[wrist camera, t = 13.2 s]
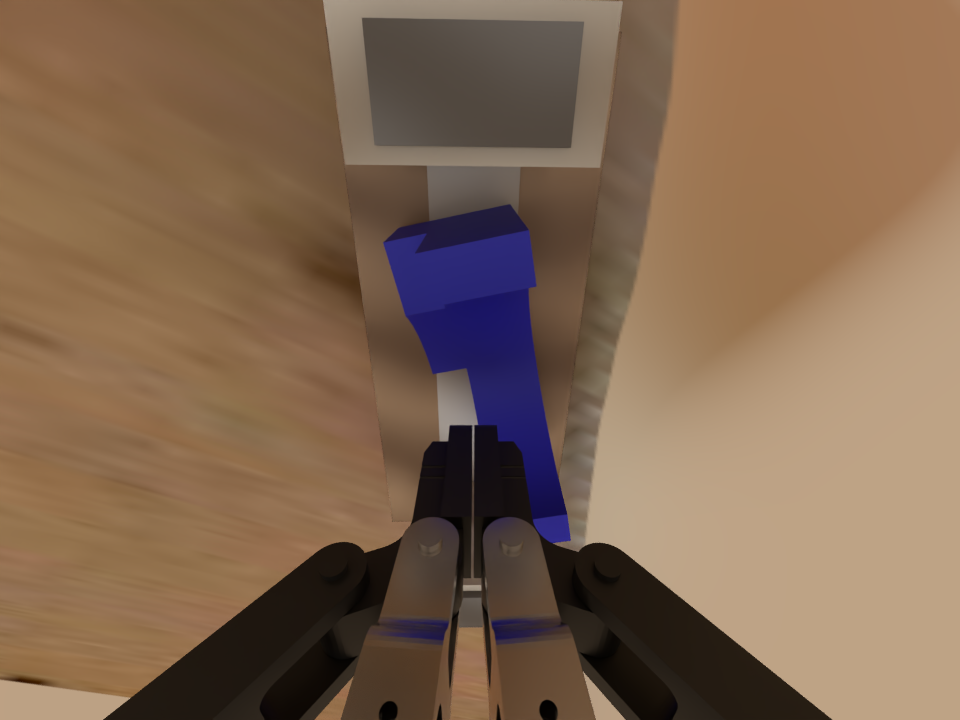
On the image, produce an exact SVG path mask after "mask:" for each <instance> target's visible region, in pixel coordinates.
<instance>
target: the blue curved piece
mask: <svg viewBox="0 0 960 720" xmlns="http://www.w3.org/2000/svg"><path fill="white" fill-rule="evenodd" d="M383 244H384V247H385V251H386V254H387V257H388V260H389V264H390V267H391V270H392V273H393V277H394V280H395V283H396V286H397V290H398V293H399V296H400V299H401V303H402V306H403V309H404V313H405V316H406V317H407V318H408V320H409V321H410V322H411V324H412V326H413V327H414V329H415V331H416V333H417V334H418V336H419V339H420V341H421V343H422V345H423V348H424V350H425V353H426V355H427V358H428V361H429V364H430V367H431V370H432V374H437V373H443V372H448V371H454V370H459V369H465V368H466V369H467V373H468V377H469V381H470V386H471V391H472V395H473V400H474V406H475V411H476V416H477V422H478V425H497V432H498V441H514V443H515V444H516V445H517V447H518V448H519V449H520V451H521V452H522V456H523V462H524V468H525V475H526V481H527V487H528V494H529V500H530V506H531V513H532V519H533V523H534V525H535V527H536V529H537V531H538V532H539V533H540V534H541V535H542V536H543V537H544V538H545V539H546V540H548V541H549V542H551V543H556V542H563V541H570V540H571V539H570V531H569V524H568V516H567V511H566V508H565V504H564V499H563V495H562V491H561V487H560V483H559V478H558V474H557V469H556V465H555V460H554V456H553V451H552V446H551V441H550V436H549V431H548V426H547V421H546V416H545V411H544V405H543V400H542V394H541V388H540V382H539V376H538V370H537V364H536V357H535V351H534V343H533V336H532V328H531V319H530V308H529V288H532V287H537V285H536V278H535V270H534V263H533V256H532V248H531V241H530V233H529V229H528V228H527V227H526V225H525V224H524V223H523V221H522V220H521V218H520V217H519V216H518V214H517V213H516V212H515V210H514V209H513V207H512V206H511V205H510V204H508V205H503V206H499V207H494V208H489V209H484V210H480V211H475V212H470V213H466V214H461V215H456V216H451V217H447V218H442V219H437V220H433V221H428V222H423V223H418V224H414V225H409V226H404V227H400V228H398V229H397V230H396V231H395V232H394V233H393V234H392V235H390V236H389V237H388V238H387V239H386V240H385V241H384V242H383Z"/></svg>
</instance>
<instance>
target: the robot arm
mask: <svg viewBox="0 0 960 720" xmlns="http://www.w3.org/2000/svg"><path fill="white" fill-rule="evenodd" d="M471 539H472V425H450V427H449V437H448V441H433V442H432V443H431V444H430V445H429V447H428V448H427V449H426V451H425V452H424V456H423V461H422V468H421V473H420V479H419V484H418V490H417V496H416V502H415V507H414V513H413V519H412V523H411V525H410V526H409V527H408V529H407V530H406V531H405V533H404V534H403V536H402V537H401V538H400V539H399V540H397V541H396V542H394V543H392V544H391V545H388V546H386V547H383V548H380V549H376V550H373V551H370V552H366V553H364V551H363V550H362V549H361V548H360V547H359V546H357V545H355V544H353V543H349V542H339V543H334V544H331V545H328V546H326V547H324V548H322V549H321V550H319V551H318V552H316V553H315V554H314V555H313V556H311V557H310V558H309V559H307V560H306V561H305V562H304V563H302V564H301V565H300V566H298V567H297V568H296V569H295V570H293V571H292V572H291V573H290V574H288V575H287V576H286V577H284V578H283V579H282V580H281V581H279V582H278V583H277V584H276V585H274V586H273V587H272V588H270V589H269V590H268V591H267V592H265V593H264V594H263V595H262V596H260V597H259V598H258V599H256V600H255V601H254V602H253V603H251V604H250V605H249V606H247V607H246V608H245V609H244V610H242V611H241V612H240V613H239V614H237V615H236V616H235V617H233V618H232V619H231V620H230V621H228V622H227V623H226V624H225V625H223V626H222V627H221V628H219V629H218V630H217V631H216V632H214V633H213V634H212V635H211V636H209V637H208V638H207V639H205V640H204V641H203V642H202V643H200V644H199V645H198V646H196V647H195V648H194V649H193V650H191V651H190V652H189V653H188V654H186V655H185V656H184V657H182V658H181V659H180V660H179V661H177V662H176V663H175V664H174V665H172V666H171V667H170V668H168V669H167V670H166V671H165V672H163V673H162V674H161V675H160V676H158V677H157V678H156V679H154V680H153V681H152V682H151V683H149V684H148V685H147V686H145V687H144V688H143V689H142V690H140V691H139V692H138V693H137V694H135V695H134V696H133V697H131V698H130V699H129V700H128V701H127V702H125V703H124V704H123V705H121V706H120V707H119V708H117V709H116V710H115V711H114V712H112V713H111V714H110V715H109V716H107V717H106V718H105V719H103V720H314V719H315V718H316V717H317V716H318V715H319V714H320V713H321V712H322V711H323V709H324V708H325V707H326V706H327V705H328V704H329V703H330V702H331V700H332V699H333V698H334V697H335V696H336V695H337V694H338V693H339V692H340V690H341V689H342V688H343V687H344V686H345V685H346V684H347V683H348V682H349V680H350V679H351V678H352V677H353V676H354V677H353V680H352V683H351V687H350V690H349V694H348V697H347V700H346V704H345V707H344V710H343V714H342V717H341V720H450V716H451V698H452V687H453V677H454V668H455V658H456V649H457V640H458V630H459V621H460V610H461V604H462V601H463V578H471ZM474 578H481V614H482V626H483V638H484V650H485V661H486V673H487V685H488V698H489V720H596V718H595V715H594V711H593V707H592V704H591V700H590V697H589V693H588V689H587V685H586V682H585V678H584V674H583V671H584V673H585V674H586V675H587V676H588V677H589V678H590V680H591V681H592V682H593V683H594V684H595V685H596V686H597V687H598V689H599V690H600V691H601V692H602V693H603V694H604V696H605V697H606V698H607V699H608V700H609V701H610V702H611V704H612V705H613V706H614V707H615V708H616V709H617V710H618V711H619V713H620V714H621V715H622V716H623V717H624V718H625V719H626V720H832V719H831V718H829V717H828V716H827V715H826V714H824V713H823V712H822V711H821V710H819V709H818V708H817V707H816V706H814V705H813V704H812V703H811V702H809V701H808V700H807V699H806V698H805V697H803V696H802V695H801V694H799V693H798V692H797V691H796V690H795V689H793V688H792V687H791V686H790V685H788V684H787V683H786V682H784V681H783V680H782V679H781V678H780V677H778V676H777V675H776V674H775V673H773V672H772V671H771V670H770V669H768V668H767V667H766V666H765V665H763V664H762V663H761V662H760V661H758V660H757V659H756V658H755V657H754V656H752V655H751V654H750V653H748V652H747V651H746V650H745V649H744V648H742V647H741V646H740V645H738V644H737V643H736V642H735V641H734V640H732V639H731V638H730V637H729V636H727V635H726V634H725V633H724V632H722V631H721V630H720V629H718V628H717V627H716V626H715V625H714V624H712V623H711V622H710V621H709V620H707V619H706V618H705V617H704V616H703V615H701V614H700V613H699V612H697V611H696V610H695V609H694V608H693V607H691V606H690V605H689V604H688V603H686V602H685V601H684V600H683V599H681V598H680V597H678V595H676V594H675V593H674V592H673V591H671V590H670V589H669V588H668V587H666V586H665V585H664V584H663V583H661V582H660V581H659V580H658V579H657V578H655V577H654V576H653V575H652V574H650V573H649V572H648V571H647V570H645V569H644V568H643V567H641V566H640V565H639V564H638V563H637V562H635V561H634V560H633V559H632V558H630V557H629V556H628V555H627V554H625V553H624V552H623V551H621V550H620V549H618V548H616V547H614V546H612V545H609V544H605V543H592V544H589V545H586V546H584V547H583V548H582V549H581V550H580V551H579V552H576V551H573V550H569V549H566V548H563V547H560V546H557V545H555V544H553V543H551V542H549V541H548V540H546V539H545V538H544V537H543V536H542V535H541V534H540V533H539V532H538V531H537V529H536V527H535V525H534V523H533V519H532V513H531V506H530V500H529V494H528V487H527V481H526V475H525V468H524V462H523V456H522V452H521V451H520V449H519V448H518V447H517V445H516V444H515V443H514V441H498V432H497V425H474Z"/></svg>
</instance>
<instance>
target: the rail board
mask: <svg viewBox="0 0 960 720" xmlns="http://www.w3.org/2000/svg"><path fill="white" fill-rule="evenodd" d="M323 3H324V11H325V18H326V26H327V27H326V34H327V41H328V49H329V56H330V64H331V71H332V79H333V86H334V93H335V101H336V108H337V116H338V123H339V130H340V138H341V145H342V153H343V160H344V167H345V175H346V182H347V190H348V197H349V205H350V212H351V219H352V227H353V234H354V242H355V249H356V256H357V264H358V271H359V279H360V286H361V294H362V301H363V308H364V316H365V323H366V331H367V338H368V345H369V353H370V360H371V368H372V375H373V383H374V390H375V397H376V405H377V412H378V420H379V427H380V434H381V442H382V449H383V457H384V464H385V471H386V479H387V486H388V494H389V501H390V509H391V516H392V522H412V519H413V513H414V507H415V502H416V496H417V490H418V484H419V479H420V473H421V468H422V461H423V456H424V452H425V451H426V449H427V448H428V447H429V445H430V444H431V443H432V442H433V441H448V437H449V427H450V425H472V539H471V578H463V601H462V604H461V610H460V621H459V627H483V626H482V614H481V578H474V425H478V422H477V416H476V411H475V406H474V400H473V395H472V391H471V386H470V381H469V377H468V373H467V369H466V368H465V369H459V370H454V371H448V372H443V373H437V374H432V370H431V367H430V364H429V361H428V358H427V355H426V353H425V350H424V348H423V345H422V343H421V341H420V339H419V336H418V334H417V333H416V331H415V329H414V327H413V326H412V324H411V322H410V321H409V320H408V318H407V317H406V316H405V313H404V309H403V306H402V303H401V299H400V296H399V293H398V290H397V286H396V283H395V280H394V277H393V273H392V270H391V267H390V264H389V260H388V257H387V254H386V251H385V247H384V244H383V242H384V241H385V240H386V239H387V238H388V237H389V236H390V235H392V234H393V233H394V232H395V231H396V230H397V229H398V228H400V227H404V226H409V225H414V224H418V223H423V222H428V221H433V220H437V219H442V218H447V217H451V216H456V215H461V214H466V213H470V212H475V211H480V210H484V209H489V208H494V207H499V206H503V205H508V204H510V205H511V206H512V207H513V209H514V210H515V212H516V213H517V214H518V216H519V217H520V218H521V220H522V221H523V223H524V224H525V225H526V227H527V228H528V229H529V233H530V241H531V248H532V256H533V263H534V270H535V278H536V285H537V287H532V288H529V308H530V319H531V328H532V336H533V343H534V351H535V357H536V364H537V370H538V376H539V382H540V388H541V394H542V400H543V405H544V411H545V416H546V421H547V426H548V431H549V436H550V441H551V446H552V451H553V456H554V460H555V465H556V469H557V474H558V478H559V472H560V465H561V458H562V451H563V443H564V436H565V429H566V422H567V415H568V408H569V401H570V394H571V387H572V380H573V373H574V365H575V358H576V351H577V344H578V337H579V330H580V323H581V316H582V309H583V302H584V295H585V287H586V280H587V273H588V266H589V259H590V252H591V245H592V238H593V231H594V224H595V217H596V210H597V202H598V195H599V188H600V181H601V174H602V167H603V160H604V153H605V146H606V139H607V132H608V124H609V117H610V110H611V103H612V96H613V89H614V82H615V75H616V68H617V61H618V54H619V46H620V39H621V32H619V26H620V19H621V11H622V4H623V1H587V0H323Z"/></svg>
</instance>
